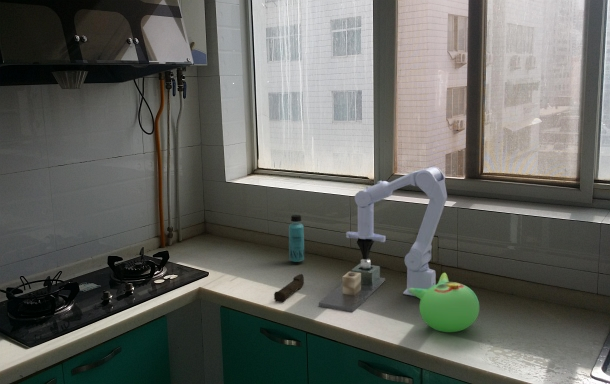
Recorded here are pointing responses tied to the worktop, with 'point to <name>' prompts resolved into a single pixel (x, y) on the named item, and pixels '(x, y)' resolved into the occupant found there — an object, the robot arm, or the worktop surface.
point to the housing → (351, 283)
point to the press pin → (366, 264)
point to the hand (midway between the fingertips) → (365, 258)
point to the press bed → (351, 302)
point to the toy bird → (447, 305)
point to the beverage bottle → (296, 240)
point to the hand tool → (289, 288)
